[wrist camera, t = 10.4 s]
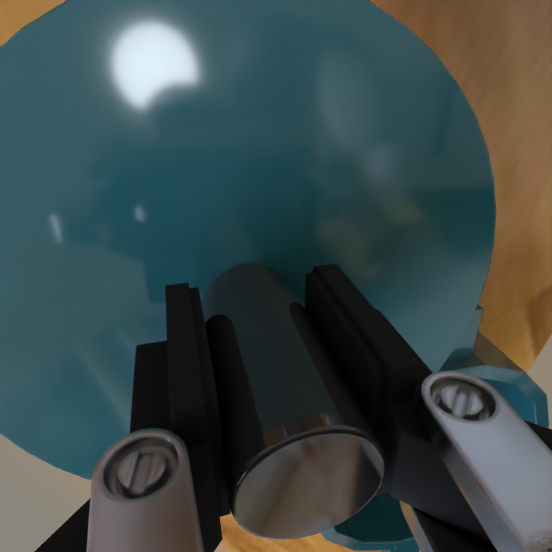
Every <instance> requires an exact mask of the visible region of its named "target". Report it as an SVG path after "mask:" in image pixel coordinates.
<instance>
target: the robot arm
mask: <svg viewBox="0 0 552 552" xmlns="http://www.w3.org/2000/svg"><path fill="white" fill-rule="evenodd" d="M165 297H166V328H167V340H166V341H160V342H153V343H147V344H140V345H137V346H136V353H135V367H134V380H133V394H132V408H131V421H130V433H129V434H126V435H125V436H123V437H121V438H120V439H118V440H117V441H115V442H113V443H112V444H111V445H110V446H109V447H108V448H107V449H106V450H105V451H104V452H103V453H102V455H101V456H100V458H99V460H98V461H97V463H96V465H95V468H94V472H93V475H92V483H91V497H90V499H89V500H88V501H87V502H86V503H85V504H84V505H83V506H82V507H81V508H80V509H78V511H76V512H75V513H74V514H73V515H72V516H71V517H70V518H69V519H68V520H67V521H66V522H65V523H64V524H63V525H62V526H61V527H60V528H59V529H58V530H57V531H56V532H55V533H54V534H52V535H51V536H50V537H49V538H48V539H47V540H46V541H45V542H44V543H43V544H42V545H41V546H40V547H39V548H38V549H37V550H36V551H35V552H214V551H215V549H216V548H217V546H218V545H219V543H220V542H221V541H222V532H221V524H220V516H224V515H228V514H230V506H229V500H228V493H227V487H226V481H225V474H224V449H223V440H222V430H221V421H220V412H219V404H218V397H217V391H216V385H215V379H214V373H213V368H212V362H211V356H210V350H209V345H208V339H207V333H206V327H205V321H204V316H203V310H202V304H201V298H200V293H199V287H195V288H189V282H187V283H180V284H172V285H165ZM305 310H306V312H307V314H308V316H309V317H310V319H311V321H312V323H313V324H314V326H315V328H316V330H317V331H318V333H319V335H320V337H321V338H322V340H323V342H324V344H325V345H326V347H327V349H328V351H329V352H330V354H331V356H332V358H333V359H334V361H335V363H336V365H337V367H338V368H339V370H340V372H341V374H342V375H343V377H344V379H345V381H346V382H347V384H348V386H349V388H350V389H351V391H352V393H353V395H354V396H355V398H356V400H357V402H358V403H359V405H360V407H361V409H362V410H363V412H364V414H365V416H366V417H367V419H368V421H369V423H370V424H371V426H372V428H373V430H374V432H375V433H376V435H377V437H378V439H379V440H380V442H381V444H382V446H383V447H384V450H385V454H386V463H387V464H386V472H385V476H384V479H383V481H382V484H381V486H380V487H379V489H378V491H377V492H376V493H375V495H379V494H383V493H387V492H389V494H390V496H392V497H394V498H396V499H398V500H400V506H401V509H402V512H403V514H404V517H405V519H406V521H407V523H408V525H409V527H410V530H411V532H412V534H413V536H414V538H415V541H416V543H417V545H418V547H419V549H420V551H421V552H552V430H551V429H549V428H546V427H543V426H540V425H537V424H534V423H531V422H528V421H526V420H523V419H522V418H521V417H520V416H519V414H518V413H517V412H516V411H515V410H514V409H513V408H512V407H511V406H510V404H509V403H508V402H507V401H506V400H505V399H504V398H503V397H502V396H501V394H500V393H499V392H498V391H497V390H496V389H494V388H493V387H492V386H491V385H490V384H489V383H487V382H485V381H484V380H482V379H480V378H478V377H476V376H473V375H470V374H468V373H464V372H459V371H439V372H436V373H433V372H432V371H431V370H430V369H429V368H428V366H427V365H426V364H425V363H424V362H423V361H422V359H421V358H420V357H419V356H418V355H417V354H416V352H415V351H414V350H413V349H412V348H411V347H410V345H409V344H408V343H407V342H406V341H405V339H404V338H403V337H402V336H401V335H400V334H399V332H398V331H397V330H396V329H395V328H394V327H393V325H392V324H391V323H390V322H389V321H388V320H387V318H386V317H385V316H384V315H383V314H382V313H381V312H380V311H379V310H378V309H374V308H373V306H372V305H371V304H370V303H369V302H368V300H367V299H366V298H365V297H364V296H363V294H362V293H361V292H360V291H359V290H358V288H357V287H356V286H355V285H354V284H353V282H352V281H351V280H350V279H349V278H348V277H347V275H346V274H345V273H344V272H343V271H342V269H341V268H340V267H339V266H338V265H337V264H328V265H320V266H314V267H313V270H312V272H310V273H307V274H306V279H305ZM375 495H374V496H375Z"/></svg>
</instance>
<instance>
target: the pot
mask: <svg viewBox="0 0 552 552" xmlns="http://www.w3.org/2000/svg"><path fill="white" fill-rule="evenodd" d="M482 313H483V308H482V307H481V306H479V305H478V304H477V306H476V309H475V311H474V313H473V315H472V318H471V320H470V322H469V324H468V326H467V328H466V330H465V332H464V333H463V335H462V337H461V339H460V340H459V342H458V344H457V345H456V347H455V349H454V350H453V352H452V353H451V355H450V356H449V357H448V359H447V360H446V362H445V363H444V364H443V366H442V367H441V369H440V370H439V371H459V372H464V373H468V374H470V375H473V376H476V377H478V378H480V379H482V380H484V381H485V382H487V383H489V384H490V385H491V386H492V387H493V388H494V389H496V390H497V391H498V392H499V393H500V394H501V396H502V397H503V398H504V399H505V400H506V401H507V402H508V403H509V404H510V406H511V407H512V408H513V409H514V410H515V411H516V412H517V413H518V414H519V416H520V417H521V418H522V419H523V420H526V421H528V422H531V423H534V424H537V425H540V426H543V427H546V428H548V427H549V416H548V403H547V395H546V393H545V392H544V391H543V390H542V389H541V388H540V387H539V386H538V385H537V384H536V383H535V382H534V381H533V380H532V379H531V378H530V377H529V376H528V375H527V374H526V373H525V372H524V371H523V370H522V369H521V368H520V367H519V366H517V365H516V364H515V363H514V362H513V361H512V360H511V359H509V358H508V357H507V356H506V355H505V354H504V353H503V352H501V351H500V350H499V349H498V348H497V347H496V346H495V345H493V344H492V343H491V342H490V341H489V340H488V339H487V338H485V337H484V336H483V335H482V334H481V333H480V332H479V331H478V328H479V324H480V320H481V316H482ZM439 371H438V372H439ZM320 533H321V534H322V535H323V537H324V538H325V539H326V540H327V541H330V542H332V543H335V544H338V545H341V546H343V547H346V548H349V549H352V550H355V551H367V550H382V552H419V551H420V549H419V547H418V545H417V543H416V541H415V538H414V536H413V534H412V532H411V530H410V527H409V525H408V523H407V521H406V519H405V517H404V514H403V512H402V509H401V506H400V500H398V499H396V498H394V497H392V496H390V494H389V492H387V493H383V494H379V495H375V496H373V497H372V499H371V500H370V501H369V502H368V503H367V504H366V505H365V506H364V507H363V508H362V509H360V510H359V511H358V512H357V513H355V514H354V515H353V516H351V517H350V518H348V519H347V520H345V521H343V522H342V523H340V524H338V525H336V526H334V527H332V528H330V529H328V530H325V531H322V532H320Z"/></svg>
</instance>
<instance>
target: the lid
mask: <svg viewBox="0 0 552 552" xmlns="http://www.w3.org/2000/svg"><path fill="white" fill-rule="evenodd" d="M495 222H496V201H495V185H494V177H493V172H492V167H491V162H490V157H489V152H488V148H487V145H486V143H485V140H484V137H483V134H482V131H481V129H480V126H479V123H478V120H477V117H476V115H475V113H474V112H473V110H472V108H471V106H470V104H469V102H468V100H467V99H466V97H465V95H464V93H463V91H462V89H461V88H460V86H459V84H458V83H457V81H456V80H455V79H454V77H453V76H452V75H451V74H450V72H449V71H448V70H447V68H446V67H445V66H444V64H443V63H442V62H441V60H440V59H439V58H438V57H437V55H436V54H435V53H434V52H433V51H432V50H431V49H430V48H429V47H428V46H427V45H426V44H425V43H424V42H423V41H421V40H420V39H419V38H418V37H417V36H416V35H415V34H414V33H413V32H412V31H411V30H410V29H409V28H408V27H407V26H406V25H404V24H403V23H401V22H400V21H398V20H397V19H395V18H394V17H392V16H391V15H390V14H388V13H387V12H385V11H384V10H382V9H381V8H379V7H378V6H376V5H375V4H373V3H372V2H370V1H369V0H66V1H65V2H63V3H61V4H60V5H58V6H57V7H55V8H53V9H52V10H50V11H48V12H47V13H45V14H43V15H42V16H40V17H39V18H37V19H35V20H34V21H32V22H30V23H29V24H27V25H25V26H24V27H23V28H21V29H20V30H19V31H18V32H17V33H16V34H15V35H13V36H12V37H11V38H10V39H9V40H8V41H7V42H5V43H4V44H3V45H2V46H1V47H0V434H1V435H2V436H4V437H5V438H7V439H8V440H10V441H11V442H13V443H14V444H15V445H17V446H18V447H20V448H21V449H23V450H24V451H26V452H27V453H29V454H31V455H33V456H35V457H37V458H39V459H41V460H43V461H45V462H47V463H48V464H50V465H52V466H54V467H56V468H59V469H62V470H64V471H67V472H69V473H72V474H75V475H77V476H80V477H82V478H85V479H89V480H92V475H93V472H94V468H95V465H96V463H97V461H98V460H99V458H100V456H101V455H102V453H103V452H104V451H105V450H106V449H107V448H108V447H109V446H110V445H111V444H112V443H113V442H115V441H117V440H118V439H120V438H121V437H123V436H125V435H126V434H129V433H130V421H131V408H132V394H133V380H134V367H135V353H136V346H137V345H140V344H147V343H153V342H160V341H166V340H167V328H166V297H165V285H172V284H180V283H187V282H189V288H195V287H199V293H200V298H201V304H202V310H203V316H204V321H205V327H206V333H207V339H208V345H209V350H210V356H211V362H212V368H213V373H214V379H215V385H216V391H217V397H218V404H219V412H220V421H221V430H222V440H223V449H224V474H225V481H226V487H227V493H228V500H229V506H230V510H231V513H232V515H233V517H234V518H235V520H236V521H237V522H238V524H239V525H240V526H241V527H242V528H243V529H244V530H246V531H248V532H249V533H251V534H253V535H256V536H259V537H263V538H268V539H279V540H284V539H295V538H302V537H306V536H310V535H313V534H317V533H320V532H322V531H325V530H328V529H330V528H332V527H334V526H336V525H338V524H340V523H342V522H343V521H345V520H347V519H348V518H350V517H351V516H353V515H354V514H355V513H357V512H358V511H359V510H360V509H362V508H363V507H364V506H365V505H366V504H367V503H368V502H369V501H370V500H371V499H372V497H373V496H374V495H375V493H376V492H377V491H378V489H379V487H380V486H381V484H382V481H383V479H384V476H385V472H386V464H387V463H386V454H385V450H384V447H383V446H382V444H381V442H380V440H379V439H378V437H377V435H376V433H375V432H374V430H373V428H372V426H371V424H370V423H369V421H368V419H367V417H366V416H365V414H364V412H363V410H362V409H361V407H360V405H359V403H358V402H357V400H356V398H355V396H354V395H353V393H352V391H351V389H350V388H349V386H348V384H347V382H346V381H345V379H344V377H343V375H342V374H341V372H340V370H339V368H338V367H337V365H336V363H335V361H334V359H333V358H332V356H331V354H330V352H329V351H328V349H327V347H326V345H325V344H324V342H323V340H322V338H321V337H320V335H319V333H318V331H317V330H316V328H315V326H314V324H313V323H312V321H311V319H310V317H309V316H308V314H307V312H306V310H305V279H306V274H307V273H310V272H312V270H313V267H314V266H320V265H328V264H337V265H338V266H339V267H340V268H341V269H342V271H343V272H344V273H345V274H346V275H347V277H348V278H349V279H350V280H351V281H352V282H353V284H354V285H355V286H356V287H357V288H358V290H359V291H360V292H361V293H362V294H363V296H364V297H365V298H366V299H367V300H368V302H369V303H370V304H371V305H372V306H373V308H374V309H378V310H379V311H380V312H381V313H382V314H383V315H384V316H385V317H386V318H387V320H388V321H389V322H390V323H391V324H392V325H393V327H394V328H395V329H396V330H397V331H398V332H399V334H400V335H401V336H402V337H403V338H404V339H405V341H406V342H407V343H408V344H409V345H410V347H411V348H412V349H413V350H414V351H415V352H416V354H417V355H418V356H419V357H420V358H421V359H422V361H423V362H424V363H425V364H426V365H427V366H428V368H429V369H430V370H431V371H432V372H433V373H436V372H438V371H439V370H440V369H441V367H442V366H443V364H444V363H445V362H446V360H447V359H448V357H449V356H450V355H451V353H452V352H453V350H454V349H455V347H456V345H457V344H458V342H459V340H460V339H461V337H462V335H463V333H464V332H465V330H466V328H467V326H468V324H469V322H470V320H471V318H472V315H473V313H474V311H475V309H476V306H477V304H478V302H479V300H480V297H481V293H482V290H483V287H484V284H485V281H486V278H487V275H488V271H489V266H490V261H491V256H492V251H493V246H494V237H495Z"/></svg>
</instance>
